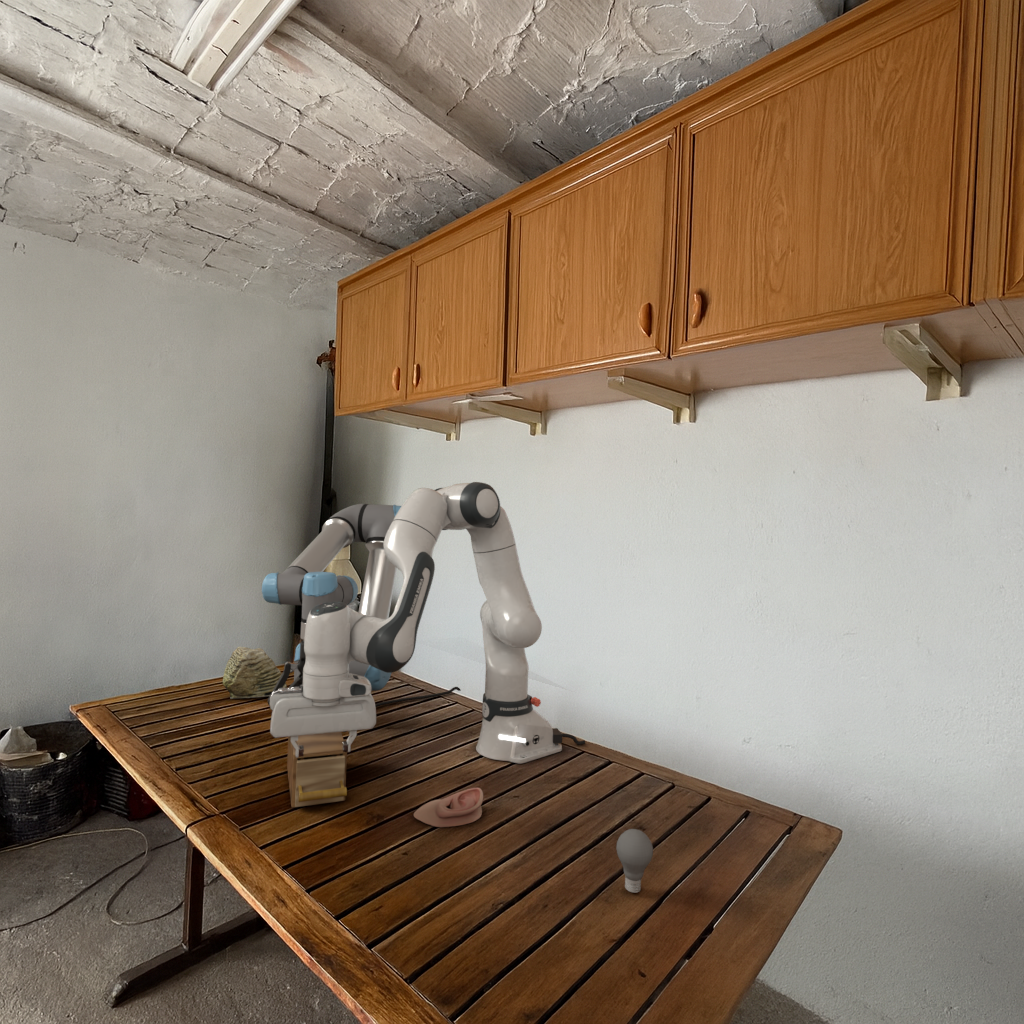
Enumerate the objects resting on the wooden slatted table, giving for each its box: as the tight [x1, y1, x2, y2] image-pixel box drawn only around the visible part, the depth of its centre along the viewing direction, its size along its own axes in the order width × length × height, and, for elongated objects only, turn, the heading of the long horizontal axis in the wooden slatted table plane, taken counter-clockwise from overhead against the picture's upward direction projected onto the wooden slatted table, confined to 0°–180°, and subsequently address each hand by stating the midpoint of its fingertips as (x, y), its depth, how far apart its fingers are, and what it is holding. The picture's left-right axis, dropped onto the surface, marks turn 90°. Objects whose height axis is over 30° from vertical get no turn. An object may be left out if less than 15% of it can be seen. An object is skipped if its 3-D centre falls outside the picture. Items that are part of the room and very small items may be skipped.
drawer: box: [294, 754, 348, 808], centre depth 135 cm, size 24×9×9 cm, turn 22°
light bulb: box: [615, 828, 654, 894], centre depth 106 cm, size 6×6×10 cm
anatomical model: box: [413, 787, 484, 828], centre depth 129 cm, size 13×4×12 cm
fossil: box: [222, 646, 288, 699], centre depth 198 cm, size 9×18×15 cm, turn 132°
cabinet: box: [286, 732, 348, 808], centre depth 140 cm, size 20×11×11 cm, turn 22°
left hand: (313, 732), depth 145 cm, fingers open, 13 cm apart
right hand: (323, 753), depth 126 cm, fingers open, 8 cm apart
